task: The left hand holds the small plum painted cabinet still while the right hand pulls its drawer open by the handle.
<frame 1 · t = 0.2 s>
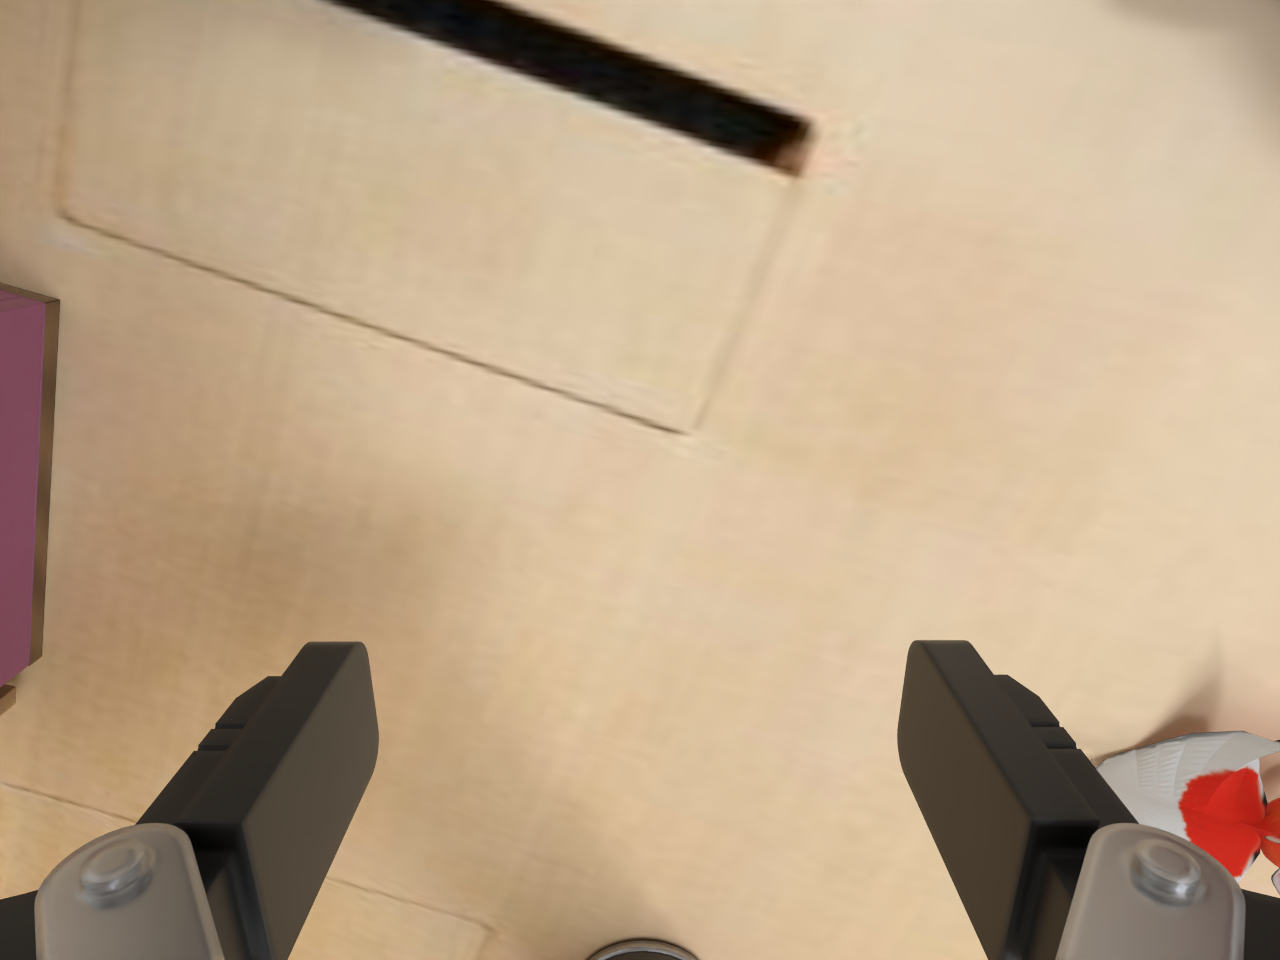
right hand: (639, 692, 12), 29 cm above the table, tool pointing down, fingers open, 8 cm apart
fish: (1195, 777, 48), on the table
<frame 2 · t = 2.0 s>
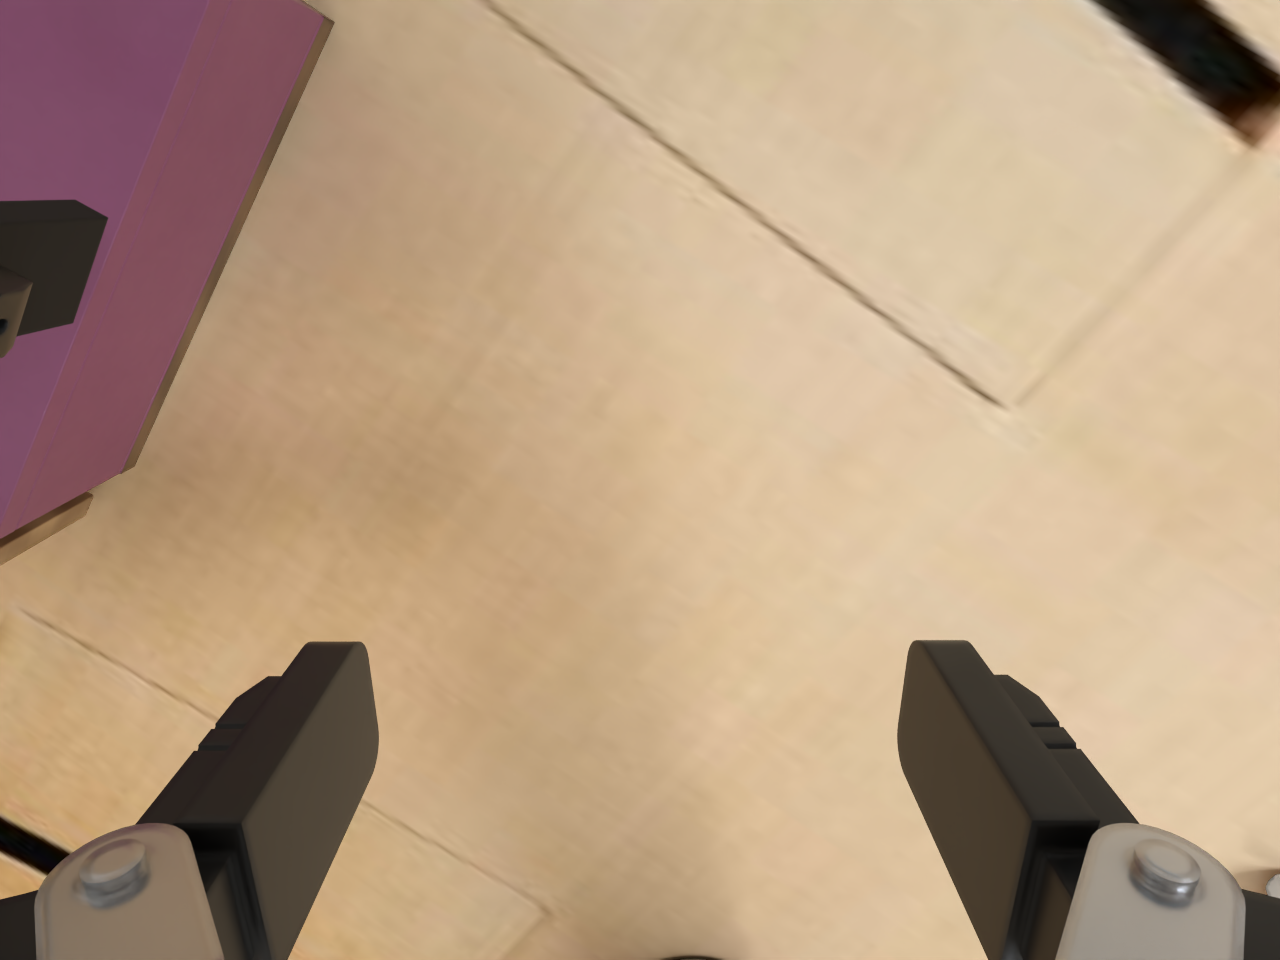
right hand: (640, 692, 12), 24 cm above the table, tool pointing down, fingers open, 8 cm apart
cabinet: (89, 183, 32), on the table
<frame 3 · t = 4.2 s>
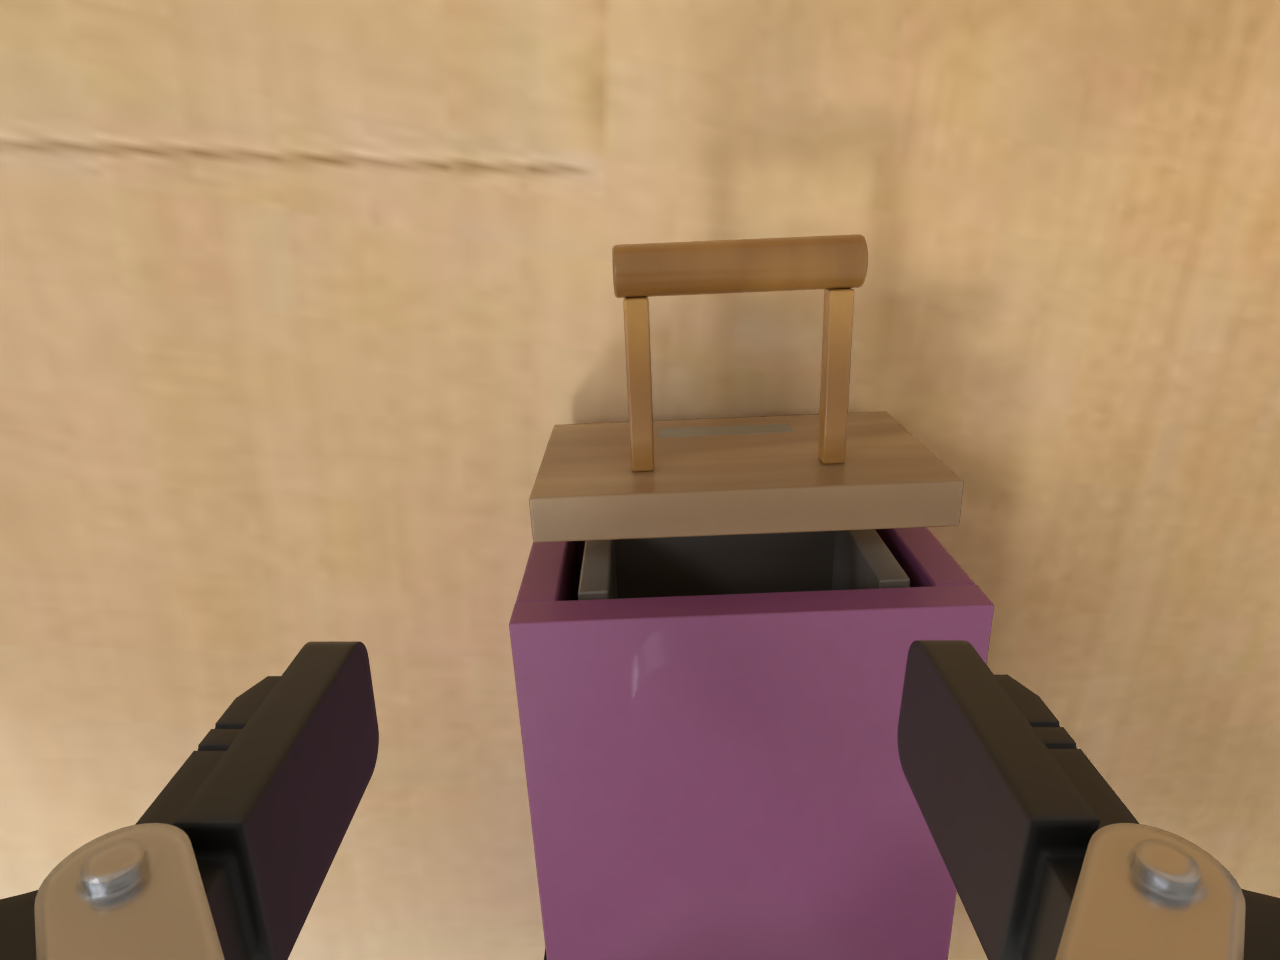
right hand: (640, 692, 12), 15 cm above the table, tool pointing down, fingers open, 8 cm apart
drawer: (731, 667, 24), point 4 cm above the table, slide at 1.6 cm
cabinet: (718, 745, 30), on the table, touching left hand
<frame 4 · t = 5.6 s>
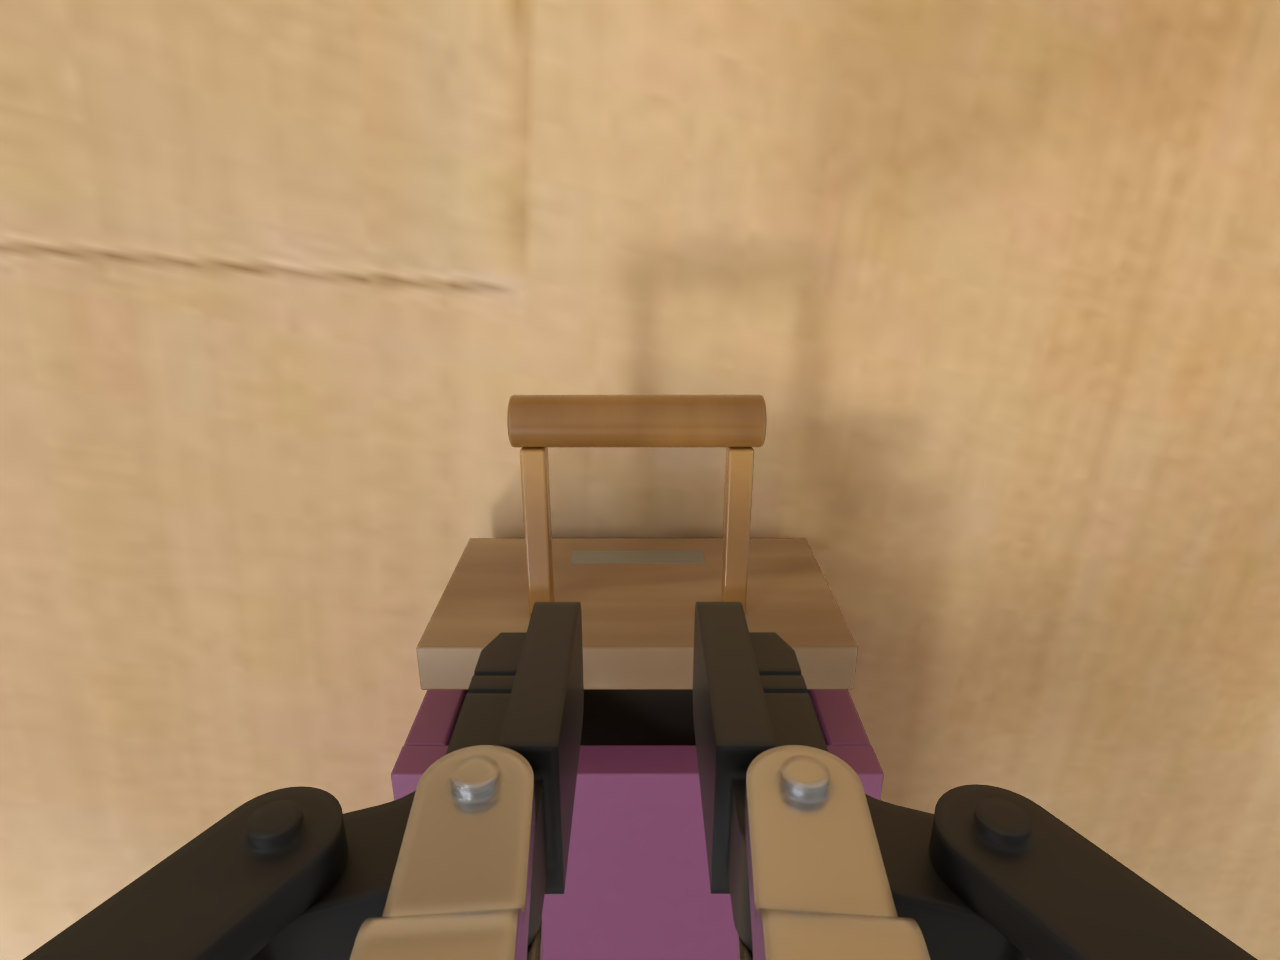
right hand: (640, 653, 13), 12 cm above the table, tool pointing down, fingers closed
drawer: (637, 793, 24), point 4 cm above the table, slide at 1.6 cm
cabinet: (638, 847, 30), on the table, touching left hand
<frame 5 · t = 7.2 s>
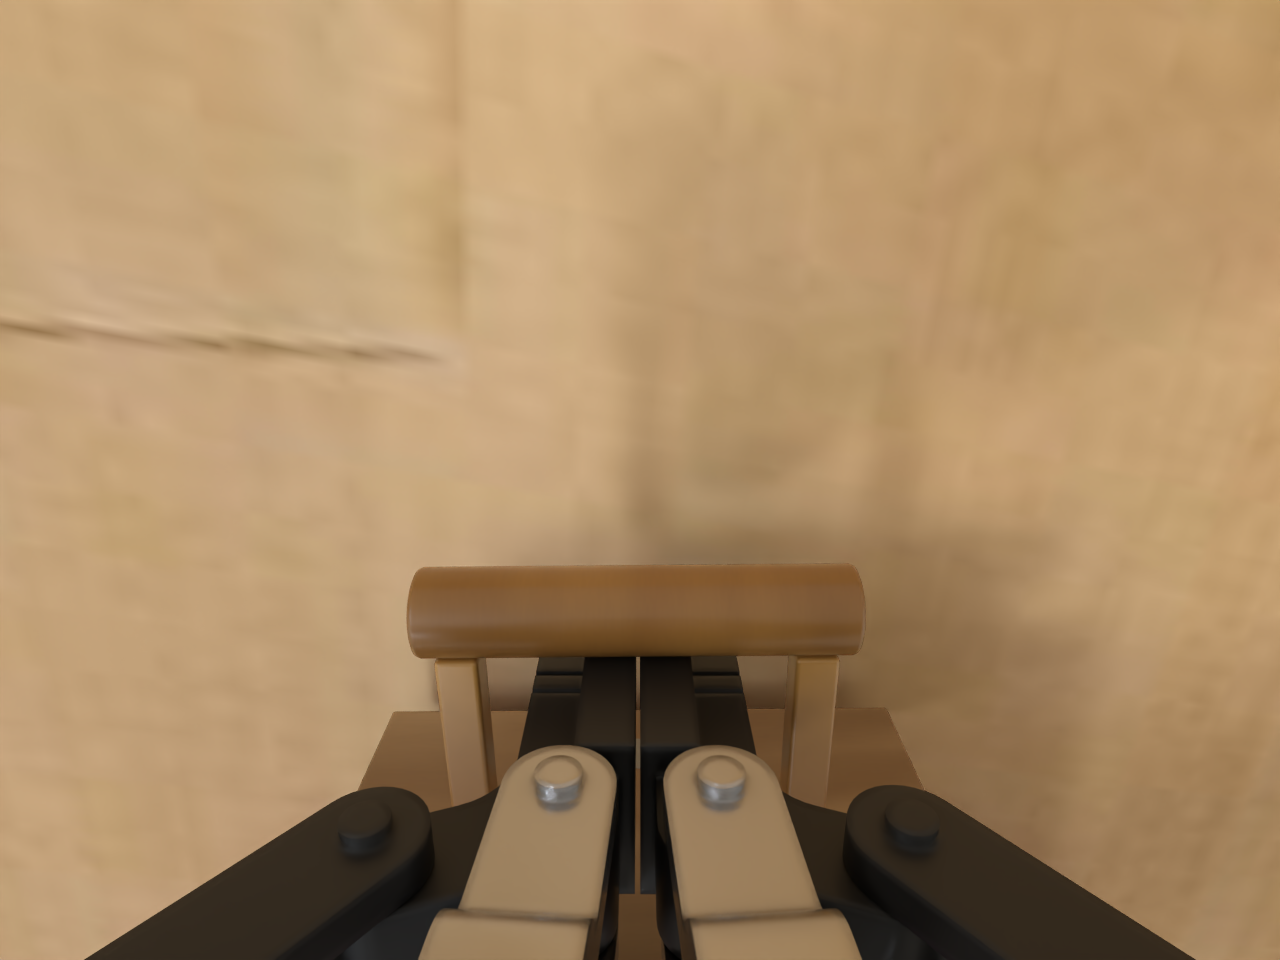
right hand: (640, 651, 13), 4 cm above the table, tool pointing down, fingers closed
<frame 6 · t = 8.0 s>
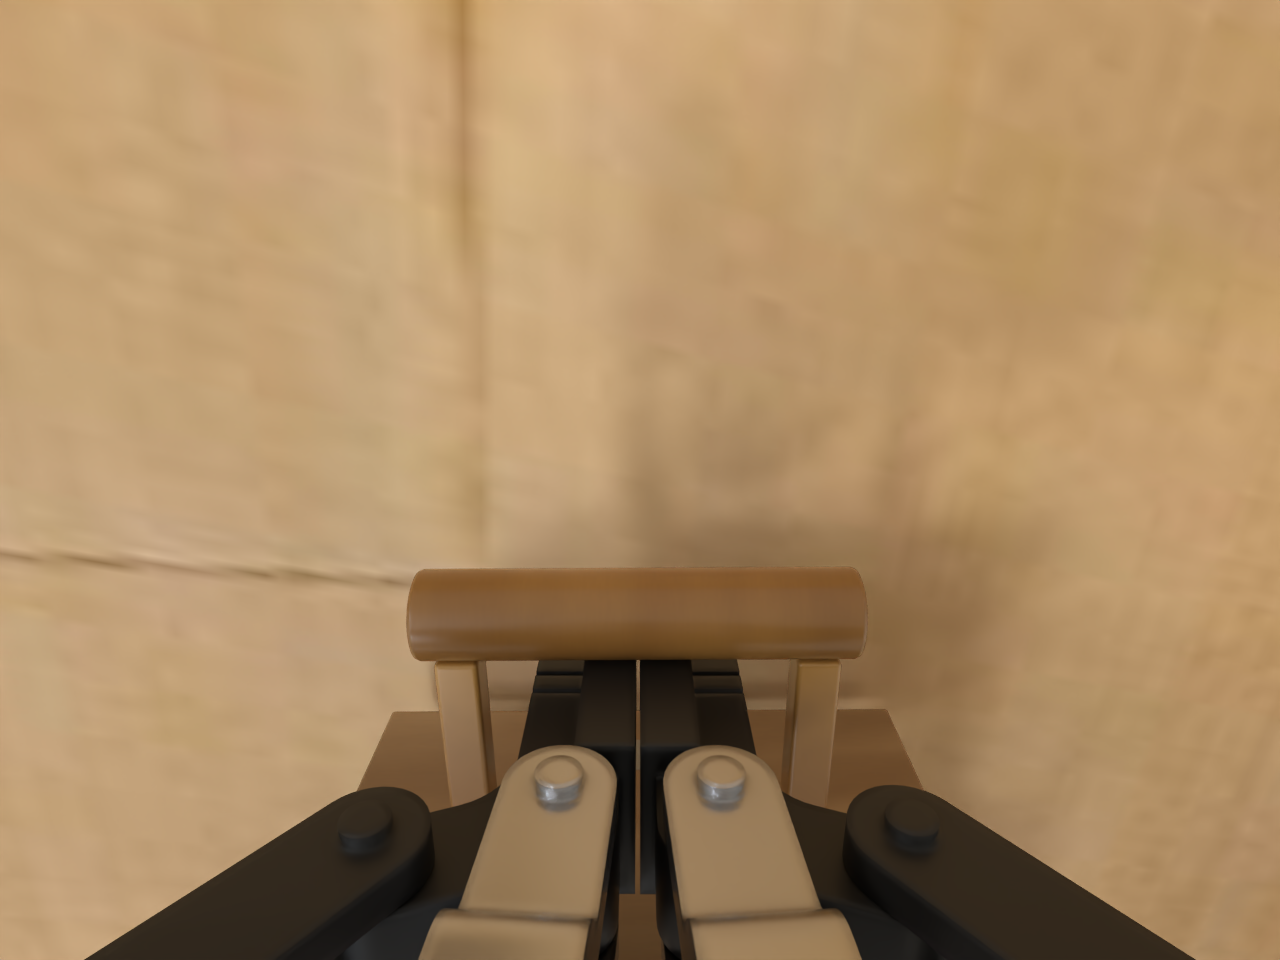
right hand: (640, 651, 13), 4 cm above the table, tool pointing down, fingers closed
when the left hand's fingers open (4 cm above the table, at t = 10.1 s): cabinet stays where it is, on the table.
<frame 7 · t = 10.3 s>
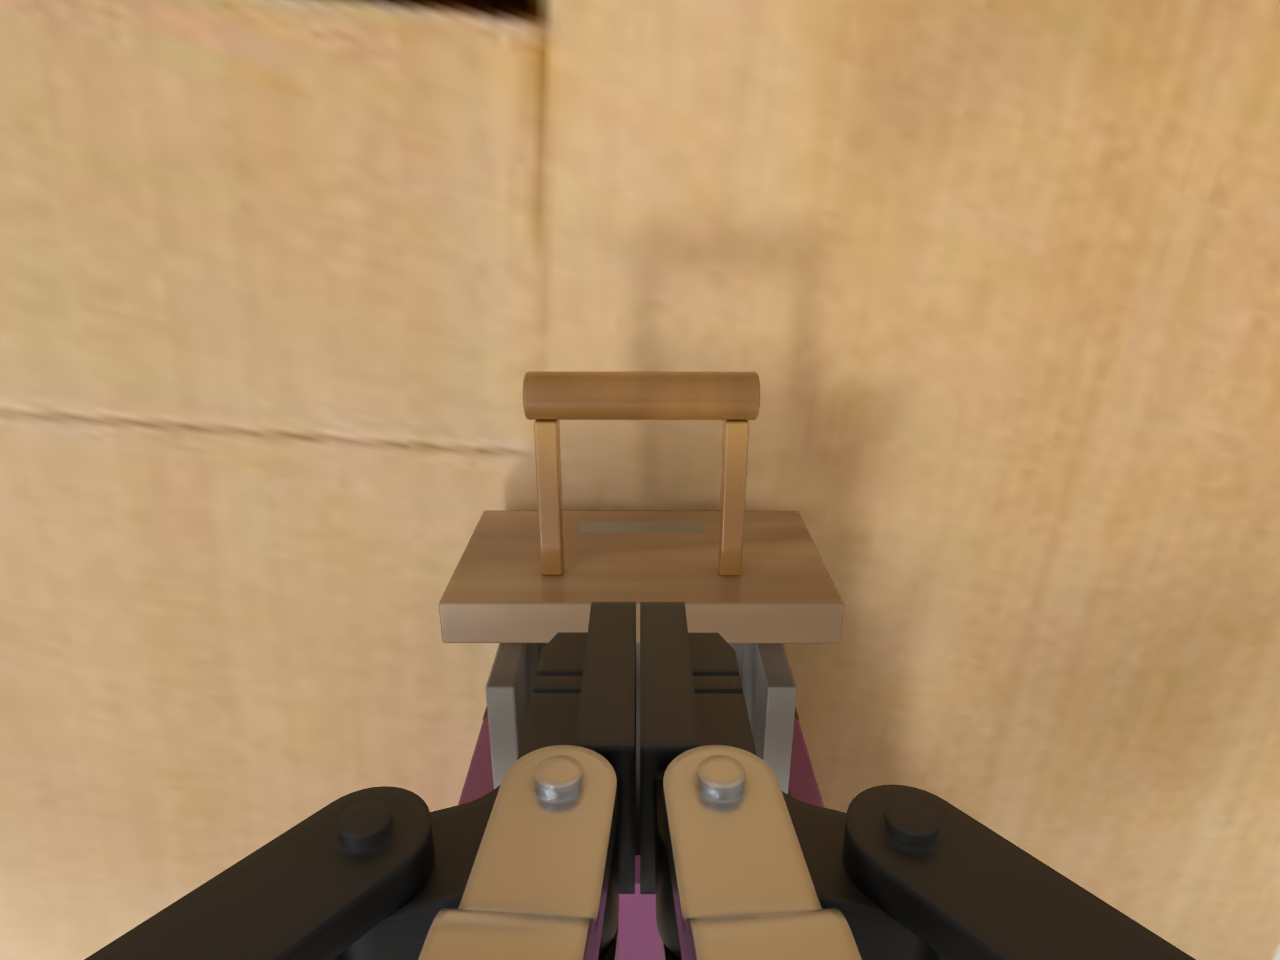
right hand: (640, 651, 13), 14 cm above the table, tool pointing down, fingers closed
drawer: (640, 748, 26), point 4 cm above the table, slide at 7.1 cm
cabinet: (640, 911, 34), on the table
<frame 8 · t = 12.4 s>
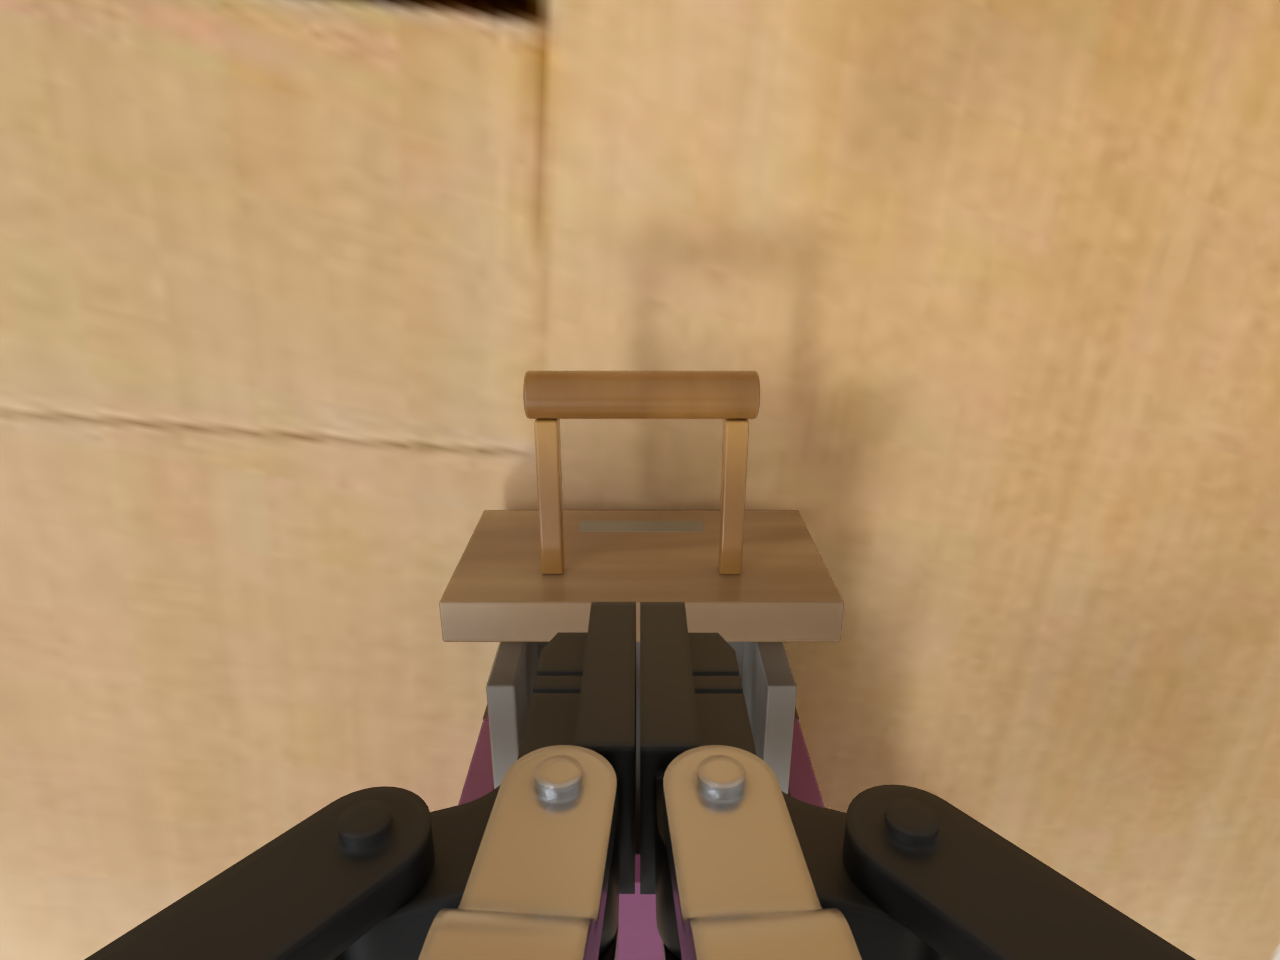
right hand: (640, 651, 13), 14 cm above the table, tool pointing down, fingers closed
drawer: (641, 747, 26), point 4 cm above the table, slide at 7.1 cm
cabinet: (640, 910, 34), on the table
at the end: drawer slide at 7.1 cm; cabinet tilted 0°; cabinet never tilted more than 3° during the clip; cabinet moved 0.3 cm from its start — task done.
